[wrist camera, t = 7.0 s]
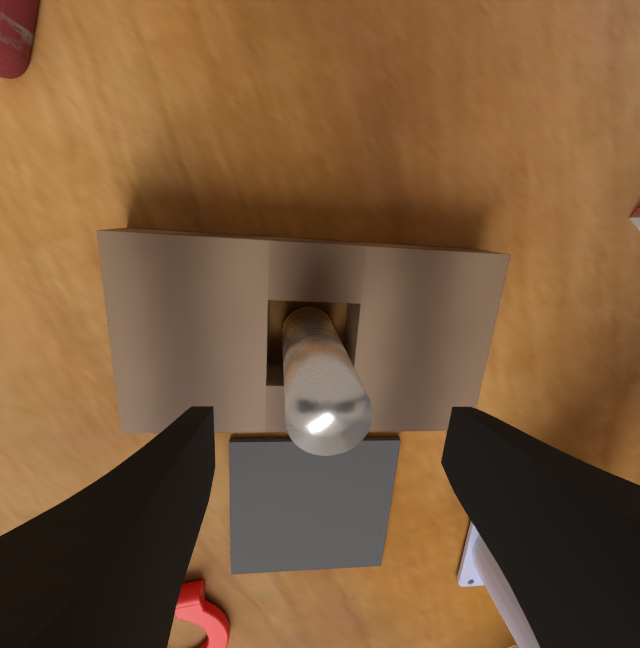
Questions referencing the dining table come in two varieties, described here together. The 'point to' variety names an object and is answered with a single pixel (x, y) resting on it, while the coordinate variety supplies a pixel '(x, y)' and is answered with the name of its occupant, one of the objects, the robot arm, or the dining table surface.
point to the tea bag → (636, 218)
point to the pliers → (16, 35)
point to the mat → (309, 505)
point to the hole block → (253, 324)
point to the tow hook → (203, 614)
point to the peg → (321, 386)
